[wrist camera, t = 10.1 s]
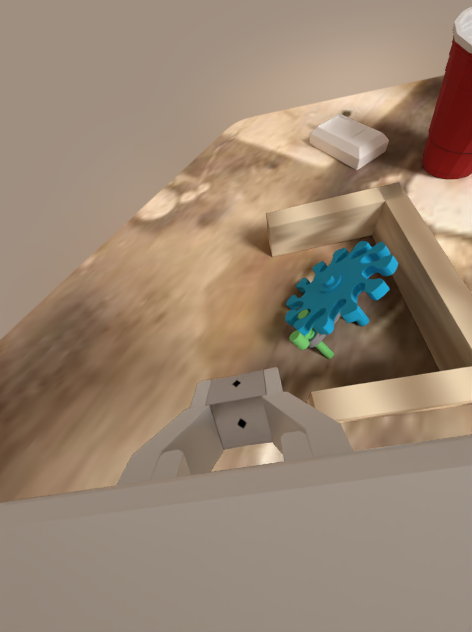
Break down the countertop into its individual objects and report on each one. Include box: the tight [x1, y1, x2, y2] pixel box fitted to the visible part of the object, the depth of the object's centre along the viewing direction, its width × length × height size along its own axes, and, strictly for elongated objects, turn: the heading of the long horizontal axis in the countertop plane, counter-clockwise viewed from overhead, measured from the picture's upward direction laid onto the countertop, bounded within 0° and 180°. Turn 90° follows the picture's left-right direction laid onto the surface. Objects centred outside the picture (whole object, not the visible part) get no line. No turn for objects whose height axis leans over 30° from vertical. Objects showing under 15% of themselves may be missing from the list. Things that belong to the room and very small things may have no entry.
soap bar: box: [309, 113, 389, 170], centre depth 35 cm, size 5×9×3 cm, turn 34°
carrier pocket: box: [266, 182, 472, 423], centre depth 23 cm, size 13×20×4 cm, turn 7°
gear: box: [285, 241, 398, 359], centre depth 23 cm, size 11×6×10 cm
